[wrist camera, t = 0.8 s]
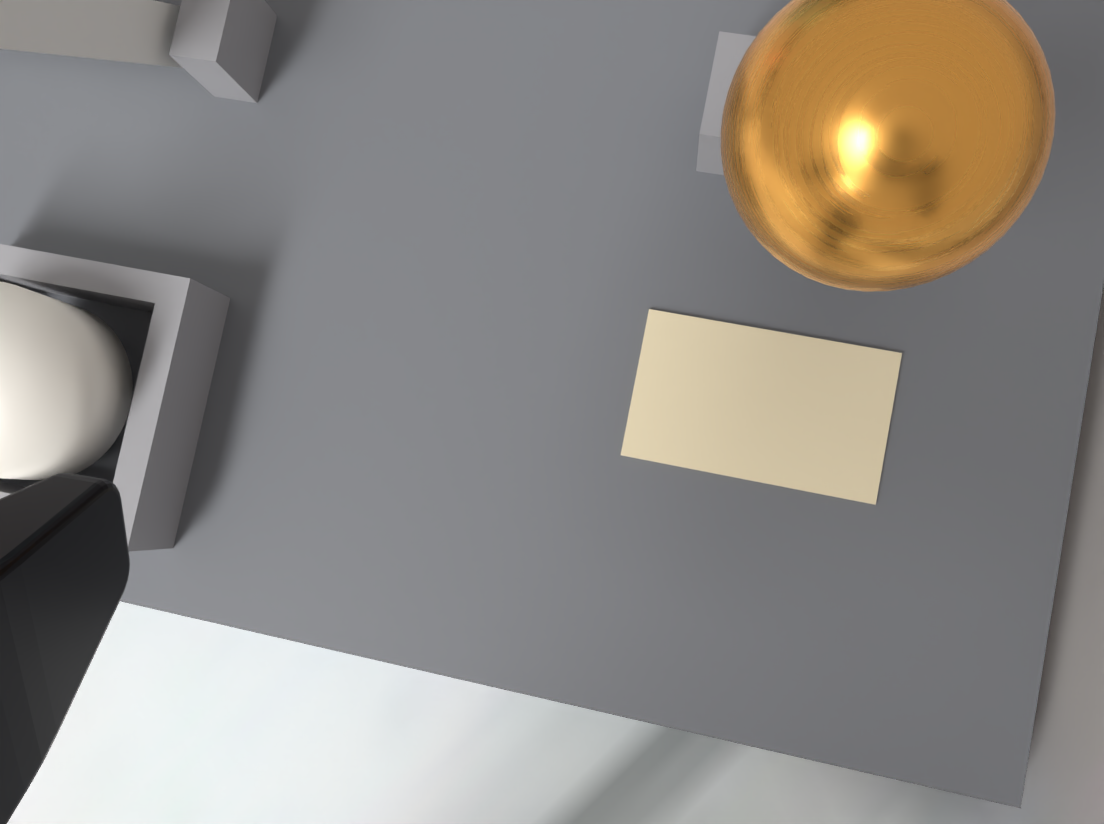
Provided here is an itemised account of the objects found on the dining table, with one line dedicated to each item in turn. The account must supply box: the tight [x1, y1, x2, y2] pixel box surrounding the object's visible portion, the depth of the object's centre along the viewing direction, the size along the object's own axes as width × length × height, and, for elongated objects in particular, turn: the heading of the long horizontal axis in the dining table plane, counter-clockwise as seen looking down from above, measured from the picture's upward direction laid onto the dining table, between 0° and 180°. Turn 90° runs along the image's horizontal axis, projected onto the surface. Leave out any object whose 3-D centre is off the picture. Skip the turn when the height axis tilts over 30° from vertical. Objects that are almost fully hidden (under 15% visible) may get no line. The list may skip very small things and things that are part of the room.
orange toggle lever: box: [720, 0, 1056, 292], centre depth 14 cm, size 3×3×11 cm
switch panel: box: [0, 0, 1104, 808], centre depth 20 cm, size 16×26×4 cm, turn 79°
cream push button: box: [0, 282, 133, 480], centre depth 19 cm, size 4×4×2 cm
